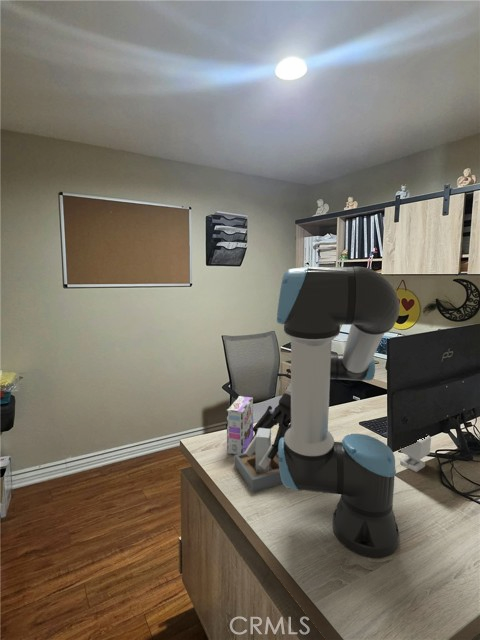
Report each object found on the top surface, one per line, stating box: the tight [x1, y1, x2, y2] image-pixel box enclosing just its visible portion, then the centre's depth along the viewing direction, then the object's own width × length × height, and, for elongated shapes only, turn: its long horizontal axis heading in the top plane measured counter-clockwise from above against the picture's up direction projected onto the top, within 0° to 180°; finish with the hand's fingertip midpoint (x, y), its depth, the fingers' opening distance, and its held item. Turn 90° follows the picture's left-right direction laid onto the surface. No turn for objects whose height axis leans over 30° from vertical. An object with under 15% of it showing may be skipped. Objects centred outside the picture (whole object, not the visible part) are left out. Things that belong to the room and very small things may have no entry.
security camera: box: [399, 435, 432, 473], centre depth 107 cm, size 6×7×10 cm
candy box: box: [226, 395, 254, 455], centre depth 119 cm, size 14×6×16 cm, turn 161°
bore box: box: [234, 450, 284, 493], centre depth 104 cm, size 14×14×4 cm
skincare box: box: [255, 428, 272, 473], centre depth 103 cm, size 6×4×12 cm
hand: (254, 460), depth 101 cm, fingers closed on skincare box, 7 cm apart
